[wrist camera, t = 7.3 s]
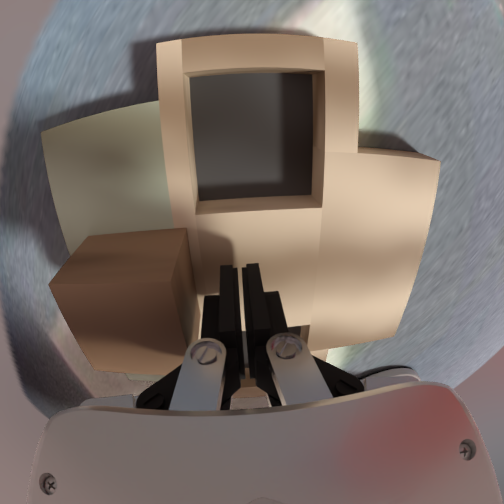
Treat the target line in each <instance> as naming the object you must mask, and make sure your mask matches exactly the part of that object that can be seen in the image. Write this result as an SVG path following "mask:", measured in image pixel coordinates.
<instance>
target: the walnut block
mask: <svg viewBox="0 0 504 504" xmlns="http://www.w3.org/2000/svg"><path fill="white" fill-rule="evenodd" d="M48 285H49V287H50V289H51V292H52V294H53V296H54V298H55V300H56V302H57V305H58V307H59V309H60V311H61V313H62V315H63V317H64V319H65V321H66V322H67V324H68V326H69V328H70V330H71V332H72V334H73V335H74V337H75V339H76V341H77V342H78V344H79V346H80V348H81V349H82V351H83V353H84V354H85V356H86V358H87V359H88V361H89V362H90V364H91V366H92V367H93V369H94V370H98V371H107V372H118V373H131V374H148V375H167V374H168V373H170V372H171V371H173V370H174V369H175V368H177V367H178V366H180V365H181V364H182V363H183V360H184V357H185V353H186V350H187V348H188V347H189V345H190V344H192V343H193V342H194V341H196V340H198V337H199V326H200V316H201V313H200V308H199V303H198V297H197V291H196V286H195V280H194V274H193V267H192V261H191V254H190V248H189V241H188V234H187V228H173V229H160V230H148V231H136V232H124V233H113V234H102V235H92V236H88V237H87V238H86V239H85V240H84V241H83V242H82V244H81V245H80V246H79V247H78V248H77V249H76V251H75V252H74V253H73V254H72V255H71V256H70V258H69V259H68V260H67V261H66V263H65V264H64V265H63V266H62V268H61V269H60V270H59V271H58V273H57V274H56V275H55V276H54V278H53V279H52V280H51V282H50V283H49V284H48Z"/></svg>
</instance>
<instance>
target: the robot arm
mask: <svg viewBox="0 0 504 504" xmlns="http://www.w3.org/2000/svg"><path fill="white" fill-rule="evenodd" d="M242 285H243V302H244V318H245V330H246V341H247V352H248V363H249V374H250V379H255V383H256V386H257V387H258V388H260V389H261V390H263V391H264V392H265V394H266V398H267V402H268V405H269V407H266V408H255V409H240V410H232V404H233V394H234V393H235V392H236V391H238V390H239V389H240V388H241V379H246V377H245V364H244V351H243V338H242V325H241V311H240V296H239V281H238V268H233V265H220V288H219V295H207V296H204V303H203V314H202V326H201V339H199V340H196V341H194V342H193V343H192V344H190V345H189V347H188V348H187V350H186V353H185V357H184V360H183V363H182V364H181V365H180V366H178V367H177V368H175V369H174V370H173V371H171V372H170V373H168V374H167V375H166V376H164V377H163V378H161V379H160V380H159V381H157V382H156V383H154V384H153V385H152V386H150V387H149V388H147V389H146V390H144V391H143V392H142V393H141V394H140V395H139V396H133V395H132V394H130V395H122V396H113V397H103V398H91V399H87V400H85V401H84V402H82V403H81V405H80V406H79V407H74V408H69V409H66V410H63V411H60V412H58V413H56V414H55V415H53V416H52V417H51V418H50V419H49V421H48V422H47V424H46V426H45V427H44V430H43V432H42V434H41V437H40V440H39V443H38V446H37V449H36V453H35V457H34V460H33V464H32V469H31V475H30V481H29V488H28V495H27V503H26V504H503V501H502V497H501V493H500V489H499V485H498V481H497V478H496V474H495V471H494V468H493V465H492V462H491V459H490V456H489V454H488V451H487V449H486V446H485V443H484V441H483V439H482V436H481V434H480V432H479V429H478V427H477V425H476V423H475V421H474V419H473V417H472V415H471V413H470V412H469V410H468V408H467V407H466V405H465V403H464V402H463V400H462V399H461V398H460V396H459V395H458V394H457V393H456V392H455V391H454V390H453V389H452V388H451V387H450V386H448V385H445V384H442V383H438V382H428V381H421V380H420V378H419V376H418V374H417V372H416V371H414V370H412V369H409V368H397V369H390V370H386V371H382V372H379V373H376V374H373V375H370V376H368V377H365V378H363V379H360V380H359V379H358V378H357V377H355V376H353V375H351V374H349V373H347V372H345V371H343V370H341V369H339V368H337V367H335V366H333V365H331V364H329V363H327V362H325V361H323V360H321V359H319V358H317V357H315V356H313V355H312V354H311V352H310V350H309V348H308V346H307V345H306V343H305V341H304V340H303V339H302V338H301V337H300V336H298V335H296V334H293V333H289V331H288V326H287V322H286V318H285V314H284V310H283V306H282V302H281V298H280V294H279V292H278V291H270V292H264V290H263V284H262V279H261V273H260V268H259V263H250V264H246V267H242Z"/></svg>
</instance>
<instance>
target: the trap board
mask: <svg viewBox="0 0 504 504" xmlns="http://www.w3.org/2000/svg"><path fill="white" fill-rule="evenodd" d="M156 53H157V78H158V95H159V100H158V101H153V102H147V103H142V104H137V105H132V106H127V107H123V108H118V109H114V110H110V111H106V112H102V113H98V114H95V115H91V116H88V117H84V118H81V119H78V120H74V121H71V122H68V123H65V124H62V125H59V126H56V127H53V128H51V129H48V130H45V131H43V132H41V138H42V145H43V152H44V158H45V164H46V169H47V174H48V179H49V183H50V188H51V192H52V196H53V201H54V204H55V208H56V212H57V216H58V219H59V223H60V226H61V229H62V233H63V236H64V239H65V242H66V245H67V248H68V251H69V254H70V256H71V255H72V254H73V253H74V252H75V251H76V249H77V248H78V247H79V246H80V245H81V244H82V242H83V241H84V240H85V239H86V238H87V237H88V236H92V235H102V234H113V233H124V232H136V231H148V230H160V229H173V228H187V234H188V241H189V248H190V254H191V261H192V267H193V274H194V280H195V286H196V291H197V297H198V303H199V308H200V313H201V316H200V326H199V337H198V340H199V339H201V326H202V314H203V303H204V296H207V295H219V288H220V265H233V268H238V281H239V296H240V311H241V325H242V338H243V351H244V364H245V377H246V379H241V388H240V389H239V390H238V391H236V392H235V393H234V394H233V398H246V397H259V396H266V394H265V392H264V391H263V390H261V389H260V388H258V387H257V386H256V383H255V379H250V374H249V363H248V352H247V341H246V330H245V318H244V302H243V285H242V267H246V264H250V263H259V268H260V273H261V279H262V284H263V290H264V292H270V291H278V292H279V294H280V298H281V302H282V306H283V310H284V314H285V318H286V322H287V326H288V331H289V333H293V334H296V335H298V336H300V337H301V338H302V339H303V340H304V341H305V343H306V345H307V346H308V348H309V350H310V352H311V354H312V355H313V356H315V357H317V358H319V359H321V360H323V361H326V357H327V353H328V349H331V348H337V347H343V346H349V345H354V344H360V343H365V342H370V341H375V340H380V339H384V338H389V337H393V336H394V335H395V333H396V331H397V328H398V326H399V323H400V321H401V318H402V315H403V313H404V310H405V307H406V305H407V302H408V299H409V296H410V293H411V290H412V287H413V284H414V281H415V278H416V275H417V271H418V268H419V265H420V261H421V258H422V254H423V250H424V246H425V243H426V239H427V235H428V230H429V226H430V222H431V217H432V212H433V207H434V202H435V196H436V191H437V185H438V178H439V171H440V164H441V161H439V160H436V159H434V158H431V157H429V156H426V155H424V154H421V153H417V152H409V151H400V150H391V149H380V148H368V147H358V129H359V68H358V47H357V43H355V42H349V41H344V40H337V39H330V38H323V37H314V36H303V35H289V34H227V35H213V36H203V37H194V38H186V39H179V40H173V41H167V42H161V43H156ZM125 374H126V376H127V377H128V379H129V380H135V381H155V382H157V381H159V380H160V379H161V378H163V377H164V376H166V375H148V374H131V373H125Z"/></svg>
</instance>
